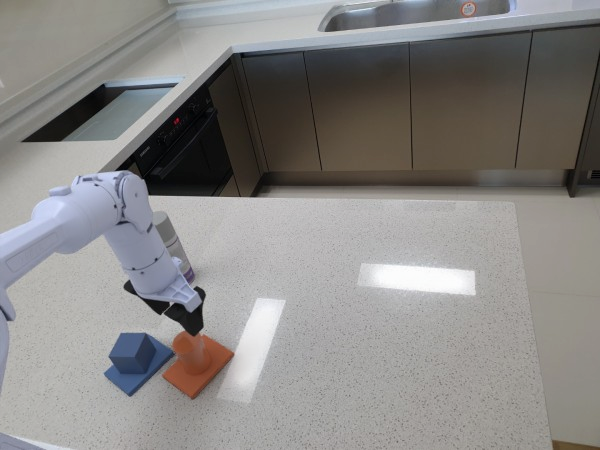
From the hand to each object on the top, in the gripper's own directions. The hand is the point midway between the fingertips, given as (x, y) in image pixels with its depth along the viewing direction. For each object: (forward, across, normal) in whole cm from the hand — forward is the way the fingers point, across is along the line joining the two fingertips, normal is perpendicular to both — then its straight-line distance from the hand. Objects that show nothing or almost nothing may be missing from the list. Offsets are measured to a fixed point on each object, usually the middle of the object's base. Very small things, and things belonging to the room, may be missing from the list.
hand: (180, 320), depth 67 cm
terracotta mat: (+10, -1, +1) cm, 10 cm away
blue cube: (+9, +8, +6) cm, 14 cm away
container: (+11, +17, -11) cm, 23 cm away
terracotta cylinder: (+9, -1, +1) cm, 9 cm away
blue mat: (+10, +8, +6) cm, 14 cm away
